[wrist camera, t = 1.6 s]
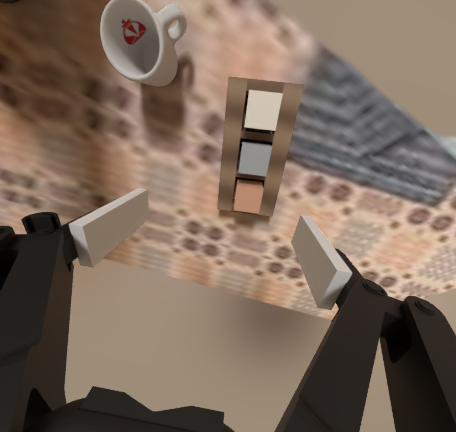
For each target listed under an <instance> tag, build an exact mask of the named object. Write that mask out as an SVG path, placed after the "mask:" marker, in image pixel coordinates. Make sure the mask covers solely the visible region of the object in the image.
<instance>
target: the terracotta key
mask: <svg viewBox="0 0 456 432" xmlns="http://www.w3.org/2000/svg"><path fill="white" fill-rule="evenodd" d="M263 190H264V189H263V185H262V182H257V181H249V180H241V179H238V182H237V188H236V195H235V203H234V210H235V211H242V212H250V213H257V214H259V210H260V205H261V200H262V195H263Z"/></svg>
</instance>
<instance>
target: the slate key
mask: <svg viewBox="0 0 456 432" xmlns="http://www.w3.org/2000/svg"><path fill="white" fill-rule="evenodd" d="M271 150H272V146H270V145H269V144H260V143H252V142H244V141H243V142H242V149H241V157H240V165H239V172H238V173H243V174H251V175H259V176H266V175H267V170H268V165H269V160H270V155H271Z"/></svg>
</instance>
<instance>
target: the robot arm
mask: <svg viewBox="0 0 456 432" xmlns="http://www.w3.org/2000/svg"><path fill="white" fill-rule="evenodd" d="M15 1H18V0H0V2H4V3H10V2H15ZM148 219H149V207H148V191H147V189H141V188H138V189H136V190H134V191H132V192H130V193H128V194H126V195H124V196H122V197H120V198H118V199H116V200H115V201H113V202H111V203H109V204H107V205H105V206H103V207H101V208H99V209H97V210H94V211H91V212H88V213H86V214H84V215H83V216H80V217H79V218H78V219H75V220H73V221H71V222H69V223H67V224H65V225H63V226H61V224H60V221H59V217H58V214H56V213H54V212H41V213H35V214H31V215H28V216H26V217H24V218H23V219H22V222H23V225H24V227H25V230H26V232H27V234H15V232H14V230H13V228H12V227H10V226H0V432H234V431H233V430H232V429H231V428H230V427H228V426H227V425H225V424H224V423H223V420H224V412H220V411H215V410H210V409H204V408H200V407H195V406H187V407H181V408H175V409H169V410H164V411H157V412H155V411H151V410H150V409H148V408H147V407H145V406H144V405H142V404H141V403H139V402H138V401H136V400H135V399H133V398H132V397H130V396H129V395H128V394H126V393H125V392H119V391H115V390H110V389H104V388H99V387H94V386H93V387H92V389H91V390H90V392H89V393H88V395H87V397H86V398H82V399H79V400H75V401H72V402H70V403H67V404H66V399H65V391H64V384H65V371H66V357H67V345H68V333H69V320H70V307H71V295H72V282H73V268H74V265H73V262H72V261H73V260H74V259H76V258H77V257H78V259H79V262H80V265H83V266H88V267H94V266H95V265H96V264H97V263H98V262H100V261H101V260H102V259H103V258H104V257H105V256H107V255H108V254H109V253H110V252H111V251H112V250H113V249H115V248H116V247H117V246H118V245H119V244H120V243H121V242H123V241H124V240H125V239H126V238H127V237H128V236H129V235H131V234H132V233H133V232H134V231H135V230H136V229H137V228H139V227H140V226H141V225H142V224H143V223H144V222H145V221H147V220H148ZM291 243H292V245H293V248H294V250H295V253H296V255H297V258H298V260H299V263H300V265H301V268H302V270H303V273H304V275H305V278H306V280H307V283H308V285H309V288H310V290H311V293H312V295H313V297H314V300H315V302H316V305H317V307H318V308H323V309H328V310H331V309H332V308H333V306H334V304H335V303H336V304H337V306H338V308H339V310H338V312H337V313H336V315H335V316H334V318H333V320H332V321H331V325H330V327H329V329H328V331H327V332H326V334H325V336H324V338H323V340H322V342H321V344H320V346H319V348H318V349H317V351H316V354H315V355H314V357H313V359H312V361H311V363H310V365H309V367H308V369H307V370H306V372H305V374H304V376H303V378H302V380H301V382H300V384H299V386H298V388H297V390H296V391H295V393H294V395H293V397H292V399H291V401H290V403H289V405H288V407H287V409H286V411H285V413H284V414H283V417H282V418H281V420H280V422H279V424H278V426H277V428H276V430H275V432H359V430H360V425H361V421H362V416H363V411H364V407H365V402H366V397H367V393H368V388H369V383H370V378H371V374H372V369H373V365H374V360H375V355H376V350H377V345H378V341H379V338H380V344H381V349H382V355H383V361H384V367H385V372H386V378H387V384H388V389H389V395H390V401H391V407H392V412H393V418H394V424H395V430H396V432H456V335H455V333H454V332H453V330H452V328H451V326H450V325H449V323H448V321H447V319H446V318H445V316H444V315H443V314H442V312H441V311H440V310H438V309H437V308H436V307H435V306H434V305H433V304H430V303H429V302H428V301H426V300H423V299H421V298H418V297H415V296H408V297H406V298H405V300H404V301H400V300H397V299H395V298H392V297H389V296H388V295H387V293H386V291H385V290H384V289H383V288H382V287H381V286H379V285H378V284H376V283H375V282H373V281H370V280H368V279H364V278H363V277H362V275H361V274H360V273H359V272H358V270H357V269H356V268H355V267H354V265H352V263H351V262H350V261H349V259H348V258H347V257H346V255H345V254H344V253H342V252H341V251H340V250H338V249H335V248H334V247H333V246H332V245H331V243H330V242H329V241H328V239H327V238H326V237H325V235H324V234H323V233H322V231H321V230H320V229H319V227H318V226H317V225H316V223H315V222H314V221H313V219H312V218H311V217H310V216H306V215H301V216H300V219H299V221H298V224H297V227H296V230H295V233H294V236H293V239H292V241H291Z"/></svg>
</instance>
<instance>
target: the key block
mask: <svg viewBox="0 0 456 432" xmlns="http://www.w3.org/2000/svg"><path fill="white" fill-rule="evenodd" d="M303 87H304V85H303V84H293V83H284V82H275V81H265V80H256V79H246V78H237V77H229V79H228V90H227V102H226V114H225V125H224V137H223V148H222V160H221V172H220V183H219V195H218V206H217V209H219V210H227V211H234V212H242V211H235V210H234V203H235V199H233V196H234V188H235V180H236V177H242V178H249V179H257V180H263V183H262V185H263V189H264V190H263V195H262V200H261V205H260V210H259V214H257V213H250V212H242V213H249V214H256V215H264V216H271V217H272V216H273V212H274V208H275V204H276V200H277V195H278V191H279V187H280V183H281V179H282V175H283V170H284V166H285V162H286V158H287V154H288V149H289V145H290V141H291V137H292V133H293V129H294V124H295V120H296V116H297V112H298V108H299V104H300V99H301V95H302V91H303ZM249 90H256V91H266V92H275V93H283V95H282V100H281V105H280V110H279V115H278V120H277V125H276V130H275V131H272V134H266V133H257V132H248V131H242V124H243V116H244V108H245V100H246V95H249ZM241 138H245V139H253V140H262V141H270V146H272V150H271V155H270V160H269V165H268V170H267V175H266V176H259V175H251V174H243V173H238V172H239V168H237V164H238V156H239V148H240V140H241Z"/></svg>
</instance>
